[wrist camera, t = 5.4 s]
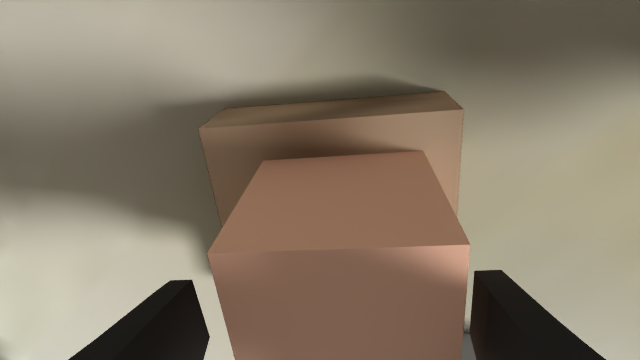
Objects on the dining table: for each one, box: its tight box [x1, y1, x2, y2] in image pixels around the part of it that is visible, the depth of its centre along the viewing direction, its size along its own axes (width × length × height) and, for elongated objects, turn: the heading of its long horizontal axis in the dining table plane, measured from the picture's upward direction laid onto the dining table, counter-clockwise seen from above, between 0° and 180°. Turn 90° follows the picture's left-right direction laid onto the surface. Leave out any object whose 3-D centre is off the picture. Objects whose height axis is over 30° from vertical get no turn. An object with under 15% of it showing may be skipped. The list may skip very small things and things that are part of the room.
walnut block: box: [198, 91, 464, 228], centre depth 14 cm, size 8×8×3 cm
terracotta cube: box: [207, 151, 470, 360], centre depth 10 cm, size 5×5×5 cm
